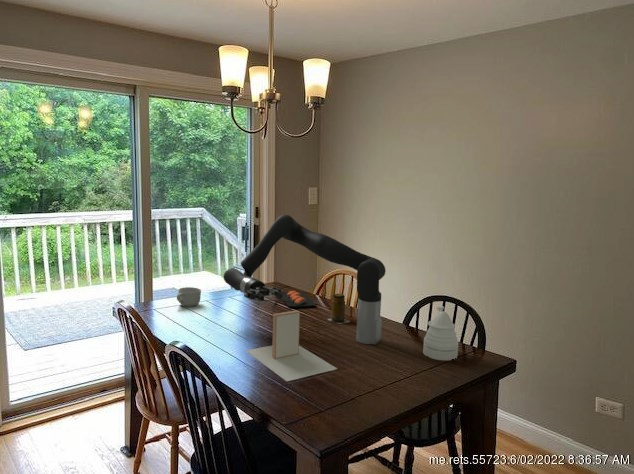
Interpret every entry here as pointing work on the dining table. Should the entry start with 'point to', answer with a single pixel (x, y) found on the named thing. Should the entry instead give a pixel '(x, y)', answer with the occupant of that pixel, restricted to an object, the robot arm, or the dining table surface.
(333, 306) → the condiment
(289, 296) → the sushi plate
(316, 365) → the mat
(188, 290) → the teacup
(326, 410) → the dining table surface
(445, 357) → the honey pot
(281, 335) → the tile
